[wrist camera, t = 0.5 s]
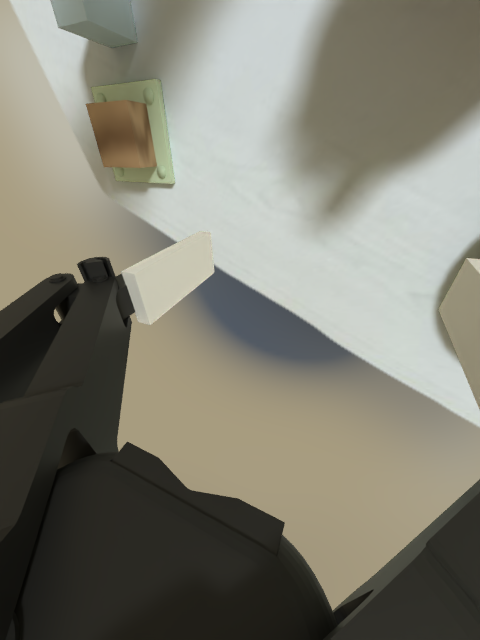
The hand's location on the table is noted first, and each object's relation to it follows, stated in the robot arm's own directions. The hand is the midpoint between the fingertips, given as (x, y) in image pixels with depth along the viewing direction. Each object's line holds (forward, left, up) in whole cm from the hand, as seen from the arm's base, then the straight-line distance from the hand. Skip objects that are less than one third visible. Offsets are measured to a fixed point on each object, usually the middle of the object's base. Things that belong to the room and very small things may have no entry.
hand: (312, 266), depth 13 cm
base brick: (-7, -35, -26) cm, 44 cm away
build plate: (-7, -35, -27) cm, 44 cm away
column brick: (-20, -34, -27) cm, 48 cm away
